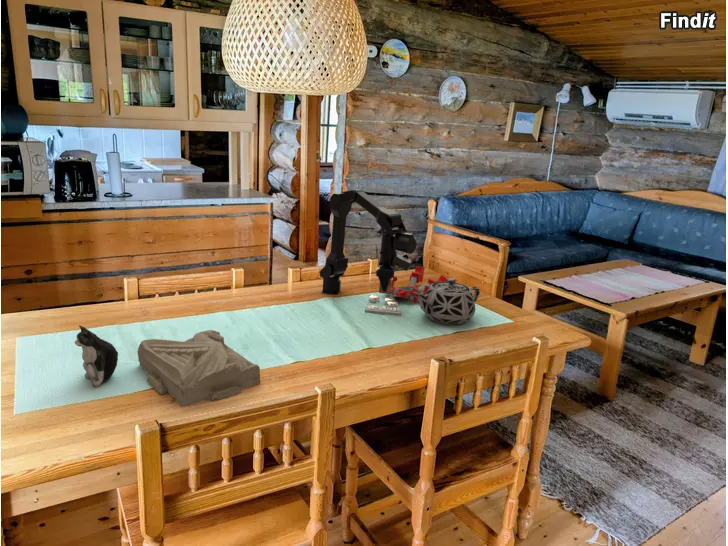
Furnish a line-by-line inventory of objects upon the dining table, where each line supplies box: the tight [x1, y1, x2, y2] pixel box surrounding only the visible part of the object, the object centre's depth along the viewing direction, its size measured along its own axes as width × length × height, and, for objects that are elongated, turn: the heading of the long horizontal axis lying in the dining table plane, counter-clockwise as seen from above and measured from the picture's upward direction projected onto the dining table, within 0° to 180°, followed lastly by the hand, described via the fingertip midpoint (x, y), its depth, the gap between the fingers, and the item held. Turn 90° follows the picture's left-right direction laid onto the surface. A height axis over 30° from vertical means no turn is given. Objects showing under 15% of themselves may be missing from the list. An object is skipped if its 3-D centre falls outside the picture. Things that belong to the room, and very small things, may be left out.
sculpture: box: [137, 329, 261, 407], centre depth 148 cm, size 25×31×9 cm
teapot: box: [414, 277, 481, 325], centre depth 200 cm, size 19×31×15 cm, turn 123°
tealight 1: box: [368, 294, 380, 304], centre depth 215 cm, size 4×4×3 cm
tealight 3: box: [386, 300, 399, 307], centre depth 210 cm, size 4×4×3 cm
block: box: [378, 278, 393, 295], centre depth 203 cm, size 4×4×5 cm
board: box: [364, 303, 403, 317], centre depth 206 cm, size 13×6×1 cm, turn 83°
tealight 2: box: [384, 296, 396, 305], centre depth 214 cm, size 4×4×3 cm
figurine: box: [74, 324, 119, 388], centre depth 141 cm, size 10×10×15 cm
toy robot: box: [388, 265, 448, 304], centre depth 226 cm, size 18×10×30 cm
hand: (385, 289), depth 204 cm, fingers closed on block, 4 cm apart
